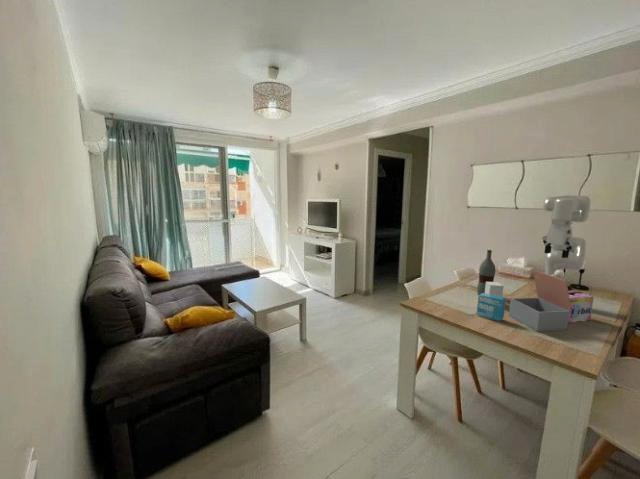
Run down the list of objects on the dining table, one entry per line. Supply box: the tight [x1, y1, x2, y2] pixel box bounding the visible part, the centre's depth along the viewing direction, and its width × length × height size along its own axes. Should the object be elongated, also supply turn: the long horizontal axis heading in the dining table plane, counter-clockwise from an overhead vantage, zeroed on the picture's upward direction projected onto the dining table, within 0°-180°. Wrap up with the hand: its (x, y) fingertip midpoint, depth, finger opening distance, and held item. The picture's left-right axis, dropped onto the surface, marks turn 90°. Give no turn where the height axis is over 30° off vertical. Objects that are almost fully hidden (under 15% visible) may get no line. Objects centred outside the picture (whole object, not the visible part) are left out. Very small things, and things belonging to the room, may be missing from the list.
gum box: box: [549, 291, 595, 323], centre depth 152 cm, size 24×8×14 cm, turn 100°
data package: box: [476, 293, 506, 322], centre depth 153 cm, size 12×4×12 cm, turn 47°
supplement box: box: [485, 281, 504, 297], centre depth 172 cm, size 7×7×13 cm
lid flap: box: [532, 269, 571, 311], centre depth 146 cm, size 17×18×8 cm
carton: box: [508, 297, 570, 333], centre depth 147 cm, size 16×18×10 cm
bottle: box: [476, 249, 496, 296], centre depth 185 cm, size 9×9×30 cm
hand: (555, 255), depth 149 cm, fingers open, 9 cm apart
